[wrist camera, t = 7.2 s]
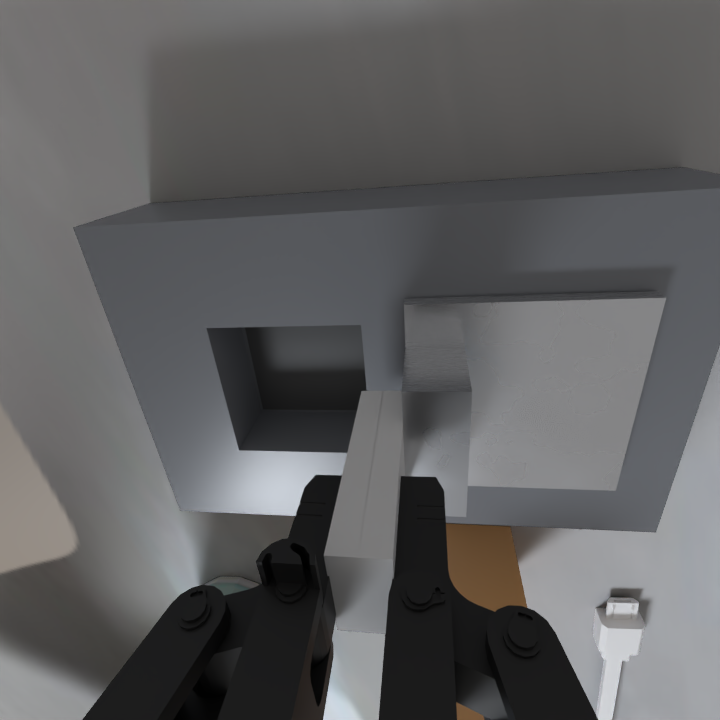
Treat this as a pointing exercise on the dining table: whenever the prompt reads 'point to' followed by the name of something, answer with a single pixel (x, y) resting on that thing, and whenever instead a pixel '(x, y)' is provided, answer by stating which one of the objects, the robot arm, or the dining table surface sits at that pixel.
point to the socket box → (392, 321)
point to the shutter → (524, 388)
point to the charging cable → (615, 646)
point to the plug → (483, 573)
